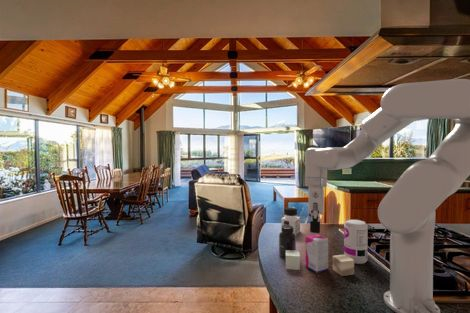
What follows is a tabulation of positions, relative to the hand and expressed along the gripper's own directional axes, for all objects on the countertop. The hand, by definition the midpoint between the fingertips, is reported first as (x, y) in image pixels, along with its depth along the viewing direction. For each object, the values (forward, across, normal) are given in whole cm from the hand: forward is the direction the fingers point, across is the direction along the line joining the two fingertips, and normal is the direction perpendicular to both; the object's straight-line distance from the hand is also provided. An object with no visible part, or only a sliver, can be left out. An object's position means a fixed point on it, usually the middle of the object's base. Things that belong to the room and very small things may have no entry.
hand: (315, 228), depth 91 cm
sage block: (+15, -2, +8) cm, 17 cm away
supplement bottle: (+15, +8, +11) cm, 20 cm away
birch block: (+14, -1, -10) cm, 17 cm away
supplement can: (+15, +11, -15) cm, 24 cm away
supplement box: (+15, -1, -1) cm, 15 cm away
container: (+16, +37, +12) cm, 42 cm away
